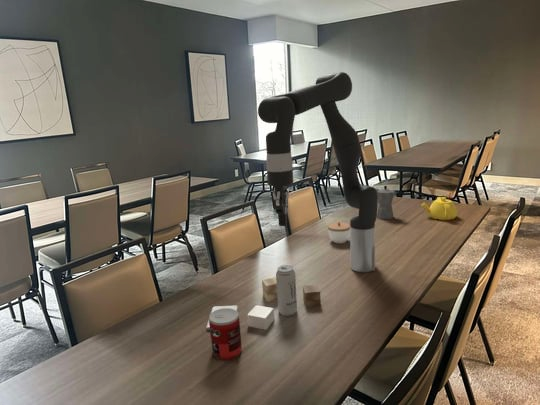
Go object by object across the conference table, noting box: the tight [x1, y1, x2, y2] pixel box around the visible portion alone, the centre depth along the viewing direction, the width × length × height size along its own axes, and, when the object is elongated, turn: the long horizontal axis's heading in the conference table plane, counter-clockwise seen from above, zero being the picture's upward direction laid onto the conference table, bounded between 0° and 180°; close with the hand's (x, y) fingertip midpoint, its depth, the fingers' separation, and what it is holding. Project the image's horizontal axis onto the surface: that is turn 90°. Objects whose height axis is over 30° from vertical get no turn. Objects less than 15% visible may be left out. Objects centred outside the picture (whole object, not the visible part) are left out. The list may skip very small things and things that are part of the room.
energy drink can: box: [275, 264, 298, 317], centre depth 120 cm, size 6×6×15 cm
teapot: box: [421, 196, 458, 221], centre depth 206 cm, size 20×18×11 cm
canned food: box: [208, 308, 243, 361], centre depth 102 cm, size 8×8×11 cm
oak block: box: [261, 276, 278, 303], centre depth 131 cm, size 5×5×6 cm
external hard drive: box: [205, 305, 238, 331], centre depth 120 cm, size 2×8×12 cm
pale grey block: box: [247, 304, 275, 331], centre depth 116 cm, size 6×6×4 cm
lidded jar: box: [327, 222, 350, 244], centre depth 180 cm, size 11×11×9 cm
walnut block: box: [302, 284, 322, 308], centre depth 126 cm, size 5×5×5 cm
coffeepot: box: [375, 185, 398, 220], centre depth 213 cm, size 15×9×18 cm, turn 44°
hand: (282, 225), depth 114 cm, fingers closed
